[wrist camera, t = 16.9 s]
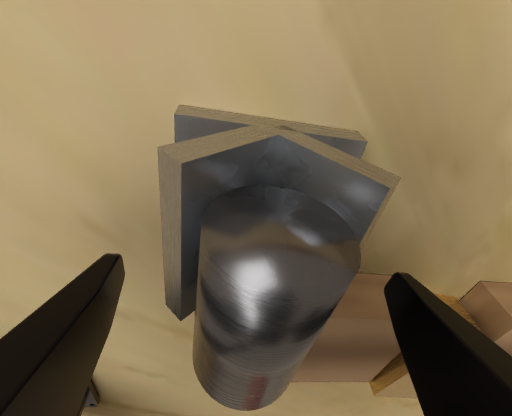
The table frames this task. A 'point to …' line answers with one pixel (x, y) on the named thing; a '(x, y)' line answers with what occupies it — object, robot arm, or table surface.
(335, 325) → the beam
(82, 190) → the table surface
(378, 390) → the block
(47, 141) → the table surface
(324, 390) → the table surface
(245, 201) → the dark grey rounded block
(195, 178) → the v block
